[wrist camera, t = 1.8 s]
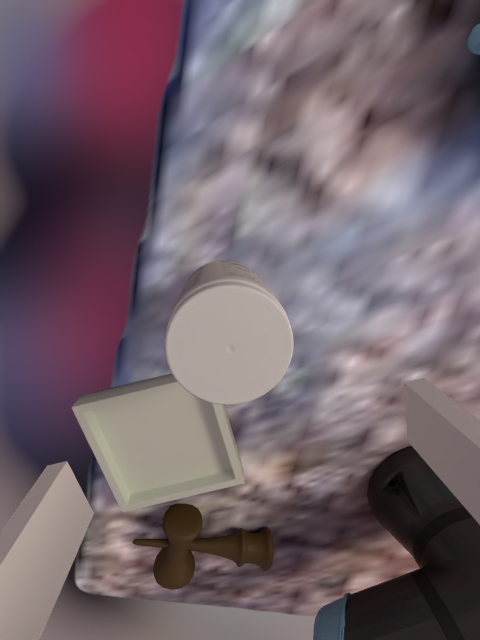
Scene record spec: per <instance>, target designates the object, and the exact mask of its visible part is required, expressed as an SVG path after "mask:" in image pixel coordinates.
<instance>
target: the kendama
mask: <svg viewBox="0 0 480 640" xmlns="http://www.w3.org/2000/svg"><path fill="white" fill-rule="evenodd" d="M202 523H203V522H202V515H201V513H200V511H199V510H198V508H196V507H194V506H193V505H189V504H176V505H174V506H171V507H170V508H169V509H168V510H167V511H166V513H165V515H164V518H163V530H164V533H165V535H166V537H167V539H135V540H134V541H133V544H135V545H141V546H150V547H162V548H163V549H162V550H161V551H160V552H159V554H158V555H157V557H156V560H155V563H154V576H155V579H156V582H157V583H158V584H159V585H161V586H162V587H163V588H167V589H172V590H173V589H179V588H182V587H184V586H185V585H187V584H188V583H189V582H190V580H191V578H192V577H193V574H194V569H195V560H194V556H193V554H192V552H191V550H192V551H198V552H204V553H209V554H213V555H218V556H222V557H225V558H228V559H231V560H233V561H234V562H235V563H236V564H237V566H238V567H241V566H242V565H243V564H245V563H253V564H256V565H259V566H260V567H261V568H262V569H263V570H264V571H267V570H269V569H270V567H271V565H272V560H273V539H272V535H271V531H270V530H269V529H268V527H265V528H263V529H262V530H261V531H260V532H257V533H248V532H245V531H244V530H243V529H242V528H240V529H239V530H238V532H236V533H234V534H231V535H227V536H220V537H212V538H201V539H196V537H197V536H198V534H199V533H200V531H201V528H202Z"/></svg>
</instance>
